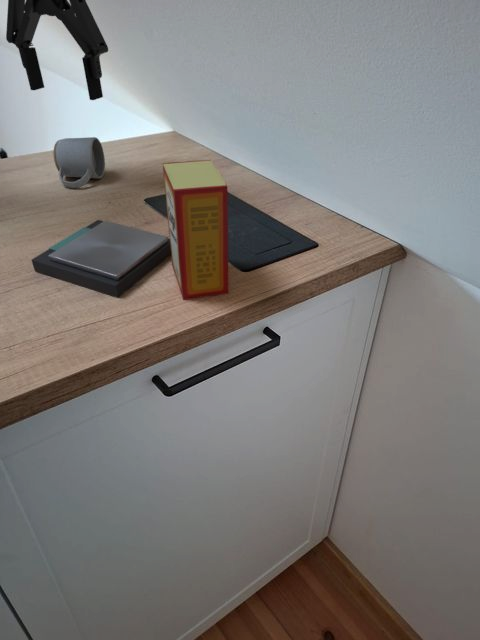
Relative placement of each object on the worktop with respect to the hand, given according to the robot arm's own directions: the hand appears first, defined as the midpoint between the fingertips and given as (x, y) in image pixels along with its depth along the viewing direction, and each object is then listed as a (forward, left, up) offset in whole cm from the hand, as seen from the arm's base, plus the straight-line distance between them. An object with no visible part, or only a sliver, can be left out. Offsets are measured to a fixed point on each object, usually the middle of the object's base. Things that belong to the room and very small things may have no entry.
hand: (66, 93), depth 90 cm
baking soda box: (+40, -22, -16) cm, 48 cm away
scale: (+25, -24, -16) cm, 38 cm away
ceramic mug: (0, 0, -16) cm, 16 cm away
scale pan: (+26, -24, -14) cm, 38 cm away
